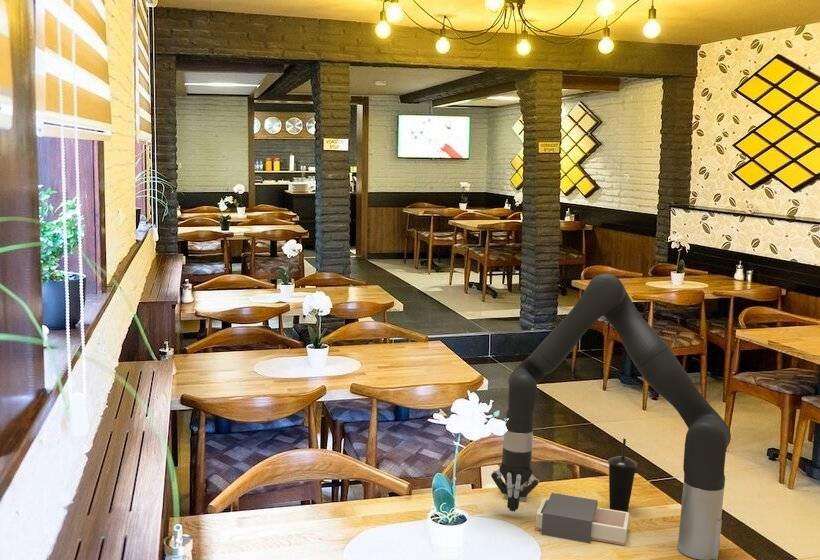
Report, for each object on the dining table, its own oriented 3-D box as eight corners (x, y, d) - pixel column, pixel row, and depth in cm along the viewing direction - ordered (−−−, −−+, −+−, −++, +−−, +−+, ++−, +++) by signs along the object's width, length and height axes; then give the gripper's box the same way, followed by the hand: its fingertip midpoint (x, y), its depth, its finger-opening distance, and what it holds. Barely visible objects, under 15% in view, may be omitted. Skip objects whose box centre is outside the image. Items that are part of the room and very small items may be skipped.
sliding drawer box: (628, 527, 209) (629, 512, 209) (625, 545, 199) (626, 529, 198) (542, 512, 216) (543, 498, 215) (535, 529, 206) (536, 513, 205)
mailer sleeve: (596, 520, 213) (597, 500, 213) (590, 543, 200) (591, 521, 199) (550, 512, 217) (551, 492, 216) (541, 534, 203) (542, 512, 203)
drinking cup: (621, 518, 216) (627, 445, 213) (598, 508, 221) (604, 437, 219) (639, 511, 220) (645, 440, 218) (615, 502, 226) (621, 432, 224)
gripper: (545, 446, 212) (540, 509, 214) (495, 438, 216) (491, 500, 218) (540, 454, 205) (535, 520, 207) (489, 446, 209) (484, 510, 211)
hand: (512, 509), depth 213 cm, fingers closed
